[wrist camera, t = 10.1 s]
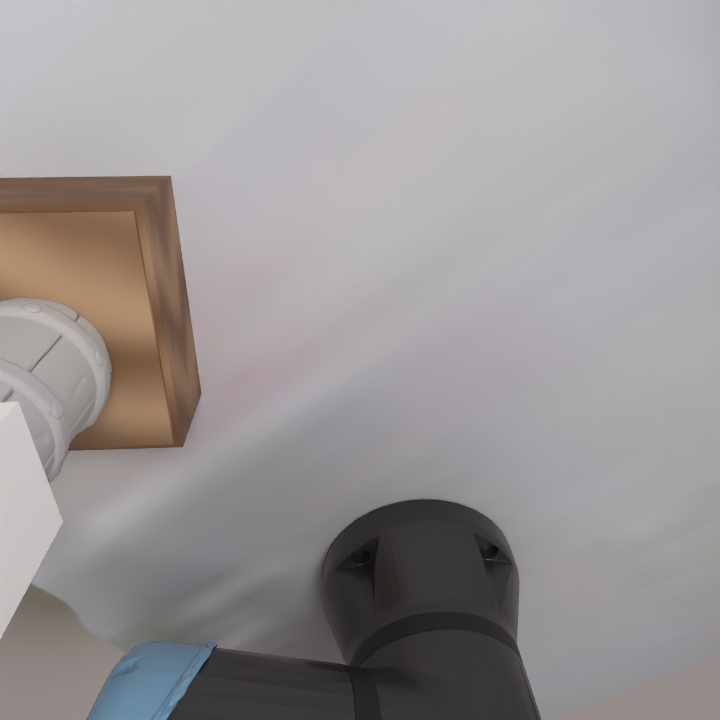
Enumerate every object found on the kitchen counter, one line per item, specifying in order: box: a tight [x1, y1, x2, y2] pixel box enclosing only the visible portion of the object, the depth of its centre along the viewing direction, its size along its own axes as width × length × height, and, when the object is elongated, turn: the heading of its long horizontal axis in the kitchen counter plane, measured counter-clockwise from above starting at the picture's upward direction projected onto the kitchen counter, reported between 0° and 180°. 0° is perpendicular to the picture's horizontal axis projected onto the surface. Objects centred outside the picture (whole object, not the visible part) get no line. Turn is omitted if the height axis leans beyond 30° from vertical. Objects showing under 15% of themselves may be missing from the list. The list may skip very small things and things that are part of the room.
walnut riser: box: [0, 176, 201, 451], centre depth 35 cm, size 14×14×6 cm
